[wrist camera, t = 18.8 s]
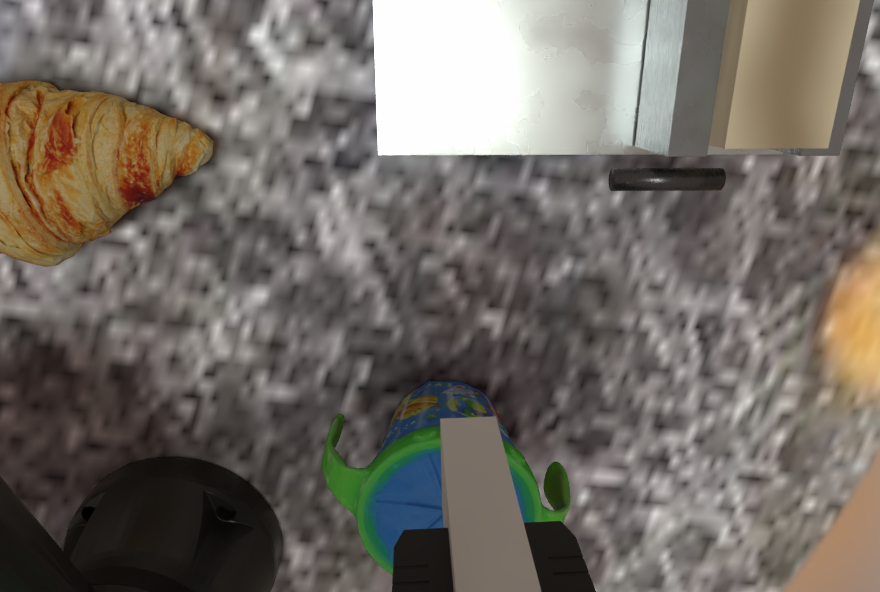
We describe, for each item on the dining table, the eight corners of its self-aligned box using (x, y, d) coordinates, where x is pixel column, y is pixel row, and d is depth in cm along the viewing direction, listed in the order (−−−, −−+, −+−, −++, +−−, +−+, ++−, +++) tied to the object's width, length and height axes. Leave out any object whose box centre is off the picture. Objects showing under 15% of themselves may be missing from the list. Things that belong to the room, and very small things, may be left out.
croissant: (224, 90, 38) (162, 15, 30) (244, 241, 37) (184, 203, 29) (-97, 149, 39) (-240, 90, 31) (-90, 301, 37) (-239, 280, 29)
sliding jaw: (597, 182, 36) (624, 198, 31) (616, -27, 32) (649, -46, 27) (697, 182, 36) (738, 197, 31) (728, -27, 32) (780, -45, 27)
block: (668, 135, 35) (724, 148, 28) (687, -17, 32) (754, -42, 26) (752, 135, 35) (827, 148, 29) (778, -17, 32) (868, -41, 26)
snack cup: (317, 449, 43) (287, 552, 34) (364, 323, 40) (346, 399, 31) (514, 509, 46) (538, 622, 36) (573, 395, 42) (617, 486, 33)
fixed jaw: (750, 145, 35) (800, 155, 31) (780, -26, 32) (840, -44, 28) (784, 145, 35) (839, 155, 31) (816, -26, 32) (883, -43, 28)
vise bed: (379, 152, 36) (378, 155, 35) (373, -33, 33) (371, -38, 32) (768, 151, 37) (782, 154, 36) (802, -31, 34) (818, -36, 32)
